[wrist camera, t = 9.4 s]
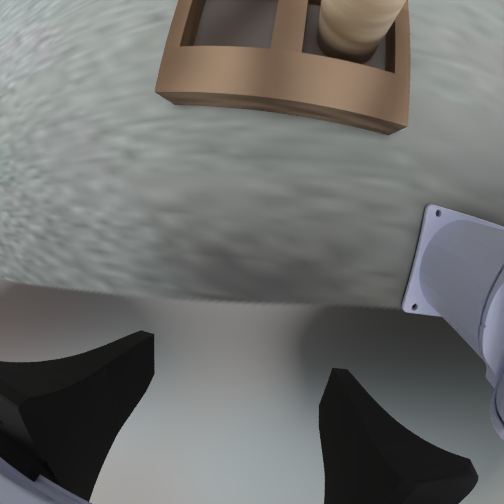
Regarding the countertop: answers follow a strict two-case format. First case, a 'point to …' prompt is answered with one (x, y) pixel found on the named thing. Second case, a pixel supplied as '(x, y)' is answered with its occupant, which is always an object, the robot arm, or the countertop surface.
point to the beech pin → (355, 27)
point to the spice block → (282, 64)
